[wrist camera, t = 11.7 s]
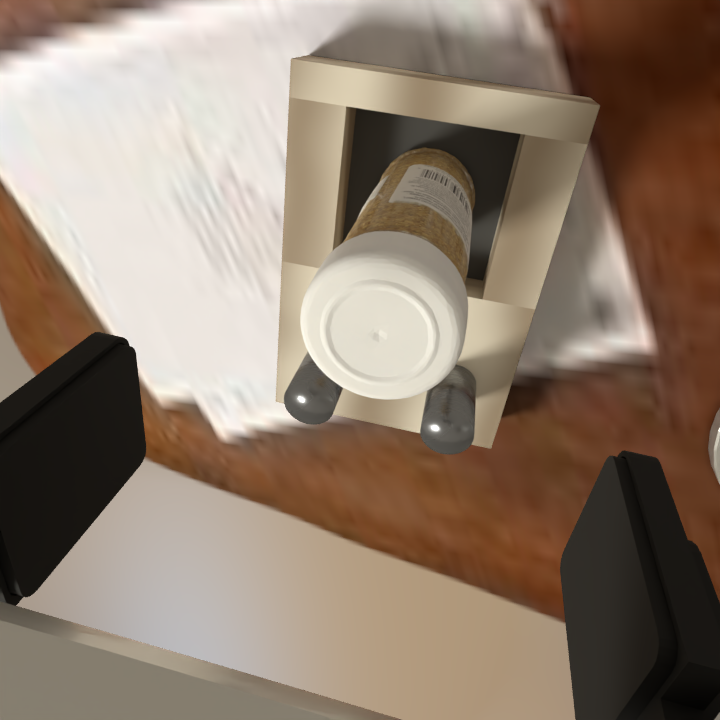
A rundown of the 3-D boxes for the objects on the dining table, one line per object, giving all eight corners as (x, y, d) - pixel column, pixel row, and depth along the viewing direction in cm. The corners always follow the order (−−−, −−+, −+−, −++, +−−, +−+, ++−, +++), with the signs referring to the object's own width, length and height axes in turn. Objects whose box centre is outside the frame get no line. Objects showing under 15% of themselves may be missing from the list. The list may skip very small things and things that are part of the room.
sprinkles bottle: (360, 181, 26) (262, 306, 15) (444, 124, 24) (403, 219, 13) (412, 261, 28) (358, 428, 17) (495, 212, 26) (498, 366, 15)
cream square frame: (590, 97, 23) (620, 122, 18) (491, 420, 32) (490, 502, 27) (308, 55, 24) (255, 66, 19) (289, 377, 33) (249, 447, 28)
